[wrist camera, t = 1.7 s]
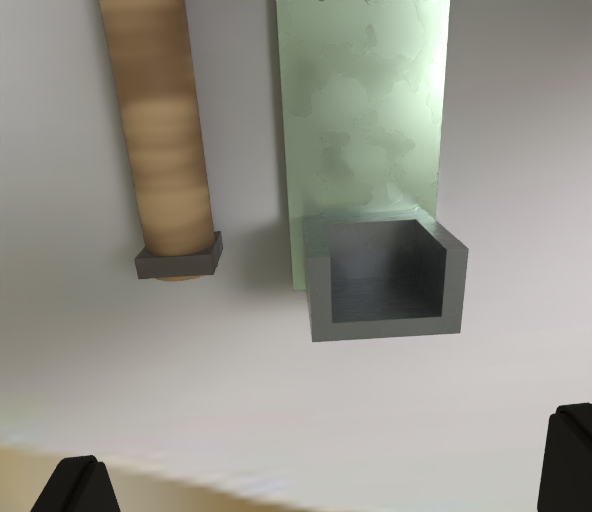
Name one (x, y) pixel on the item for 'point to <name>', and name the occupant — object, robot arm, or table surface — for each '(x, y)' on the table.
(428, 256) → the bracket board
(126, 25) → the rail
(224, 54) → the table surface
